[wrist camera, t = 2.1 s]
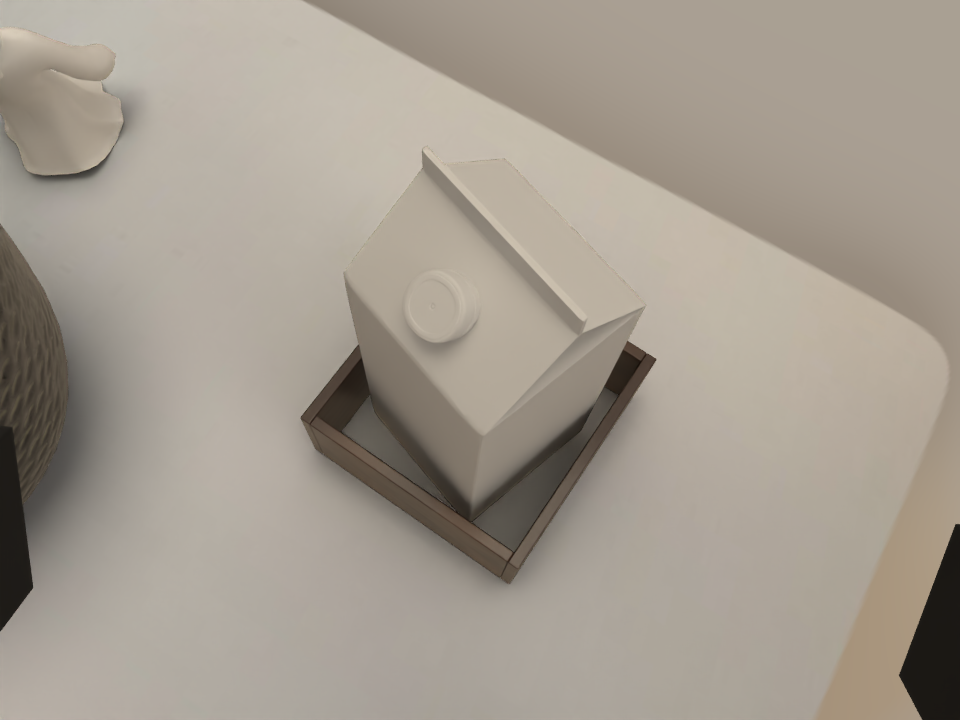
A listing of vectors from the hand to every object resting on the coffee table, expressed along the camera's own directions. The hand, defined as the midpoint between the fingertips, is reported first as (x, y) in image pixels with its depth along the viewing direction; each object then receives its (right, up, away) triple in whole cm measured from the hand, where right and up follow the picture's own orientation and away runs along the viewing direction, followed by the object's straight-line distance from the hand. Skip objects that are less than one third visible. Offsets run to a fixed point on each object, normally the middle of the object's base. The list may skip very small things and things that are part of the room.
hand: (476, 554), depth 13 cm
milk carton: (0, 0, +31) cm, 31 cm away
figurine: (-22, +15, +36) cm, 45 cm away
